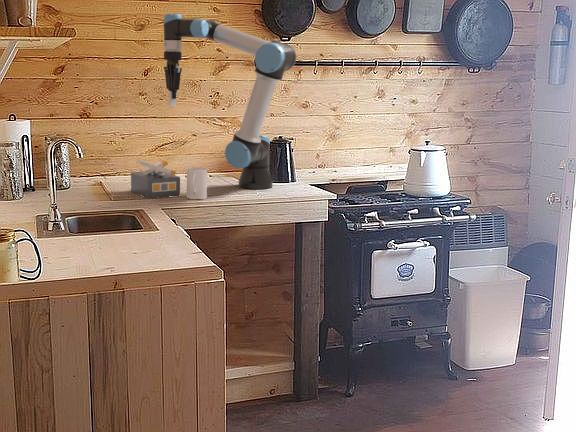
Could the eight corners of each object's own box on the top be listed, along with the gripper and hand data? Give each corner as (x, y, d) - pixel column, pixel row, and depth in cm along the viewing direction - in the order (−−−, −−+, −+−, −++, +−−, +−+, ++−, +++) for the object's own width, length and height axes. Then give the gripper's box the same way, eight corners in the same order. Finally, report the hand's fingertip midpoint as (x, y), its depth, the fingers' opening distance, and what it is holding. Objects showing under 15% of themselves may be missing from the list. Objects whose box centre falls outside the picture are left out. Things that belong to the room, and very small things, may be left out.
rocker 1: (159, 169, 323) (160, 165, 323) (162, 170, 321) (163, 167, 321) (136, 163, 317) (137, 159, 317) (139, 164, 314) (140, 160, 314)
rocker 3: (171, 174, 314) (172, 170, 314) (174, 175, 311) (175, 171, 311) (147, 167, 307) (148, 163, 307) (150, 168, 305) (151, 164, 305)
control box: (162, 188, 327) (162, 165, 325) (180, 196, 312) (180, 172, 310) (131, 191, 320) (130, 167, 318) (148, 199, 305) (148, 174, 303)
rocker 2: (164, 163, 318) (163, 159, 317) (168, 164, 315) (166, 161, 314) (141, 173, 313) (140, 170, 312) (144, 175, 310) (143, 171, 310)
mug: (201, 202, 303) (201, 172, 300) (180, 200, 305) (180, 170, 302) (209, 196, 314) (210, 167, 312) (189, 195, 316) (190, 166, 313)
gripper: (158, 50, 331) (158, 105, 336) (171, 51, 320) (171, 107, 326) (174, 50, 335) (174, 104, 340) (187, 51, 324) (187, 107, 330)
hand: (172, 106), depth 333 cm, fingers closed
